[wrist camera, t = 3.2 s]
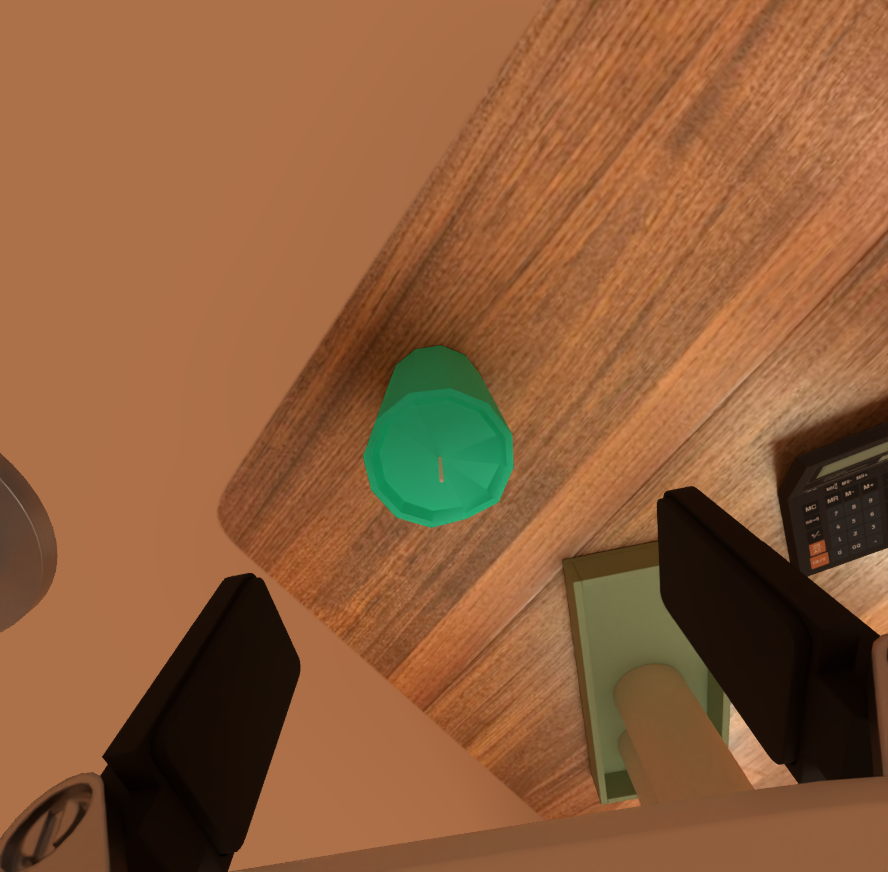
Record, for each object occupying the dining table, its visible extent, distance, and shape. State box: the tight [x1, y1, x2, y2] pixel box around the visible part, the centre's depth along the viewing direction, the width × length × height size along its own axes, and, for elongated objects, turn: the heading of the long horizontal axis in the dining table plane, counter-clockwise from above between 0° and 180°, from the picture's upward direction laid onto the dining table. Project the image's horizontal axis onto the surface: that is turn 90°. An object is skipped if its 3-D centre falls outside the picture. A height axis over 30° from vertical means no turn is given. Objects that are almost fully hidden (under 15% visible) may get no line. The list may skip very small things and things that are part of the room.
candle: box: [363, 345, 514, 528], centre depth 21 cm, size 6×6×12 cm
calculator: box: [778, 421, 888, 577], centre depth 29 cm, size 9×12×3 cm
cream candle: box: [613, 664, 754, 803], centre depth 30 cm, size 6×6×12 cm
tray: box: [563, 541, 730, 804], centre depth 34 cm, size 11×25×2 cm, turn 12°
